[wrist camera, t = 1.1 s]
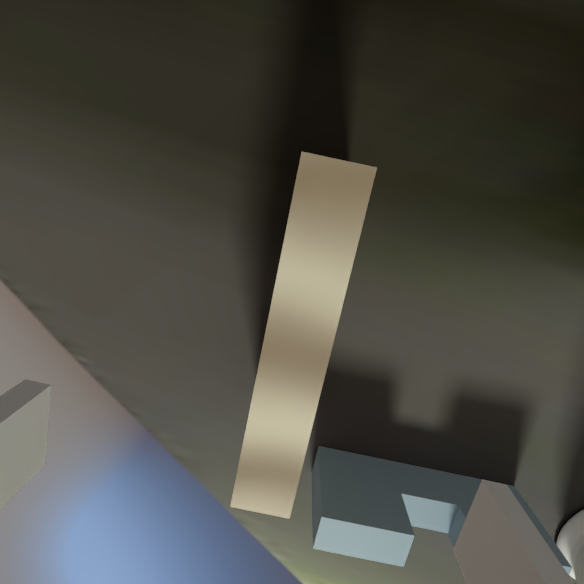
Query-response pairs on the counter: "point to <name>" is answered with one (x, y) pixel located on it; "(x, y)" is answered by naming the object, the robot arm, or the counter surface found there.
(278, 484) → the birch plate
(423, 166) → the counter surface
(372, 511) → the blue board
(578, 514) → the jar
